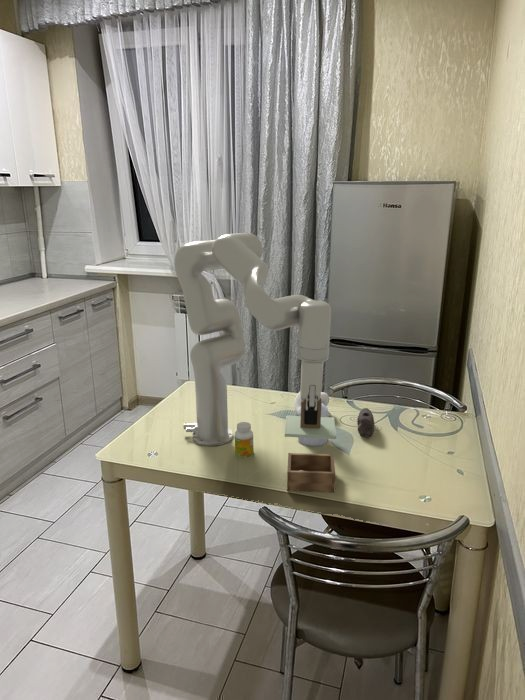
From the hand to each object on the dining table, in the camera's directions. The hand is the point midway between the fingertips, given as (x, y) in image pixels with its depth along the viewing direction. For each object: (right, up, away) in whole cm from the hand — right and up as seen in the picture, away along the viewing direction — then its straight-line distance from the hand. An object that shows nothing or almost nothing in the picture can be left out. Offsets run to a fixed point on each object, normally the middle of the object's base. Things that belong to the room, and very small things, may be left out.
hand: (310, 420), depth 134 cm
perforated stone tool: (+21, -8, +35) cm, 42 cm away
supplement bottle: (-17, -13, +20) cm, 29 cm away
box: (0, -17, +5) cm, 18 cm away
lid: (0, -2, +1) cm, 2 cm away
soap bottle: (+3, -10, +29) cm, 31 cm away
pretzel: (+4, -5, +47) cm, 47 cm away
